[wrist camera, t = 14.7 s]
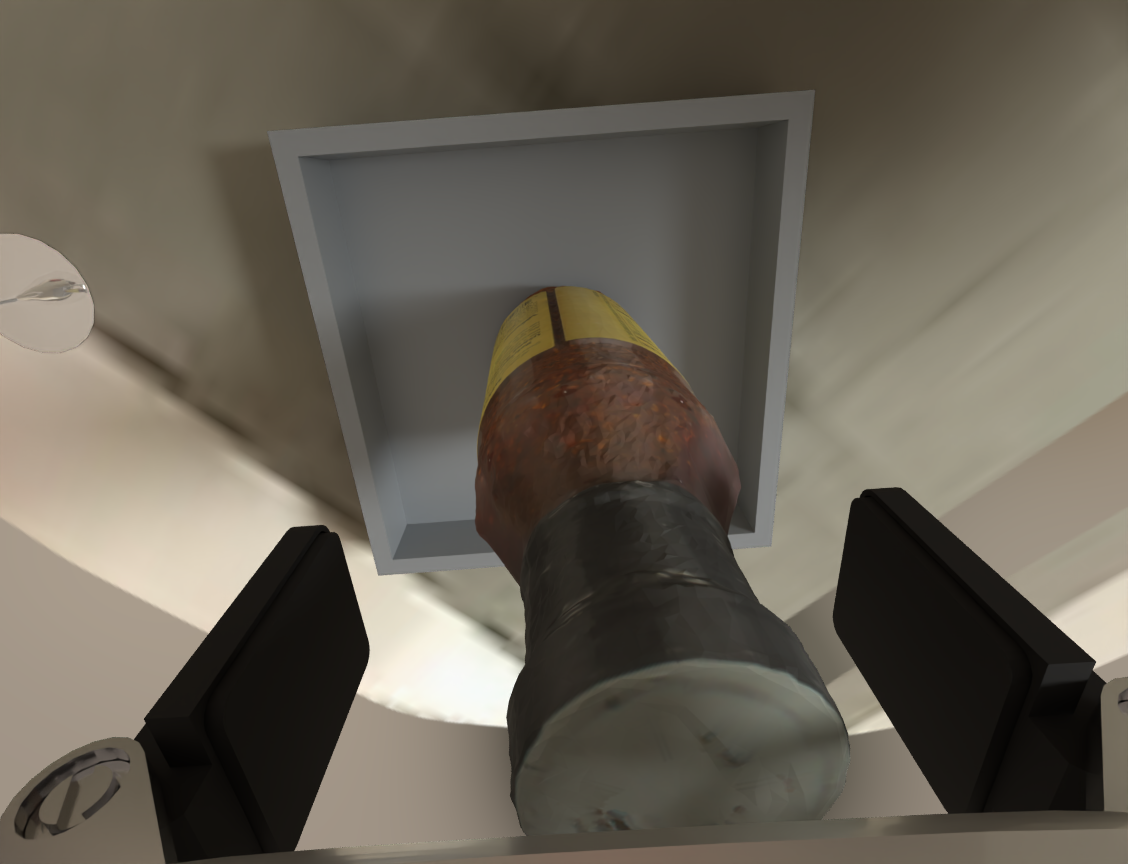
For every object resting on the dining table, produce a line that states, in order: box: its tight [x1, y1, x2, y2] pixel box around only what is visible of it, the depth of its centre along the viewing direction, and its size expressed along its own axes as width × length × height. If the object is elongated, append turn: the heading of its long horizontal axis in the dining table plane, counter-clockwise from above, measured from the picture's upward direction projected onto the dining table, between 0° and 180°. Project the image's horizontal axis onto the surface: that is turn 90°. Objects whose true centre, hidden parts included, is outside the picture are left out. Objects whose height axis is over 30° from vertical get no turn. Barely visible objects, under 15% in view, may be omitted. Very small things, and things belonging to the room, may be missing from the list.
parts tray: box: [267, 90, 815, 576], centre depth 24 cm, size 18×18×4 cm
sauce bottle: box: [475, 286, 850, 836], centre depth 16 cm, size 7×6×20 cm
